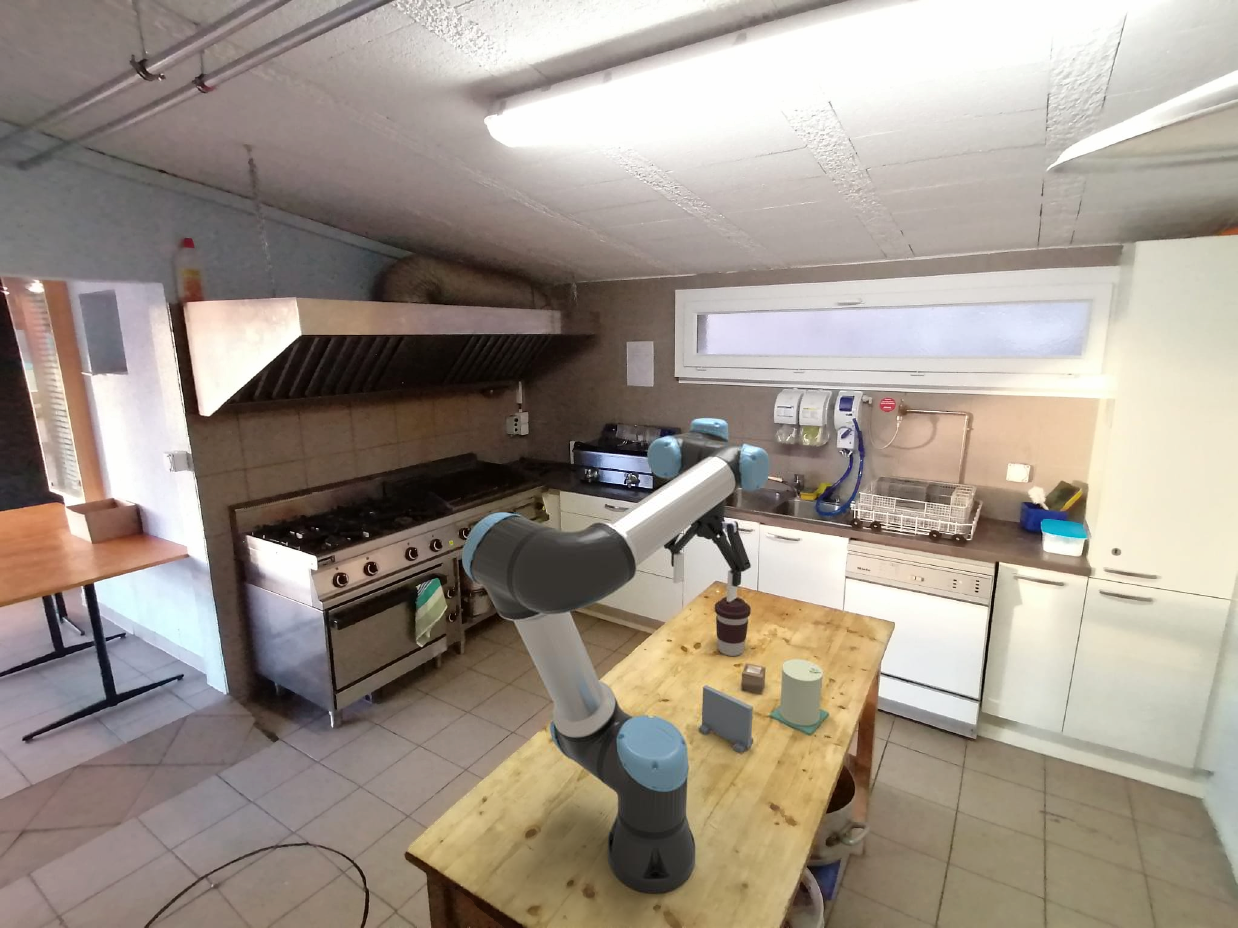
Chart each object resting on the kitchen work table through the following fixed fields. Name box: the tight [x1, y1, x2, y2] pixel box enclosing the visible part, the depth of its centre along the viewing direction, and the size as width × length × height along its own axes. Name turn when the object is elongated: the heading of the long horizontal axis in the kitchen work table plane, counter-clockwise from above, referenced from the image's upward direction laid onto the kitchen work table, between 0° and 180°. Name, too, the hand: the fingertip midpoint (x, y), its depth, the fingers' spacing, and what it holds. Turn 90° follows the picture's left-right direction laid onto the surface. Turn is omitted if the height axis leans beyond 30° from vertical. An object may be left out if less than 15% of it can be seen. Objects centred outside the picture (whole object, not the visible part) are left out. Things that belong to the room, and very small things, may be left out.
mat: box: [769, 705, 830, 737], centre depth 139 cm, size 10×10×1 cm
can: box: [778, 658, 824, 726], centre depth 138 cm, size 9×9×12 cm
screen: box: [698, 684, 754, 754], centre depth 131 cm, size 5×12×10 cm, turn 48°
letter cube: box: [740, 662, 766, 696], centre depth 150 cm, size 5×5×5 cm
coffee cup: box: [714, 596, 752, 657], centre depth 167 cm, size 10×10×15 cm
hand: (704, 590), depth 126 cm, fingers open, 13 cm apart
